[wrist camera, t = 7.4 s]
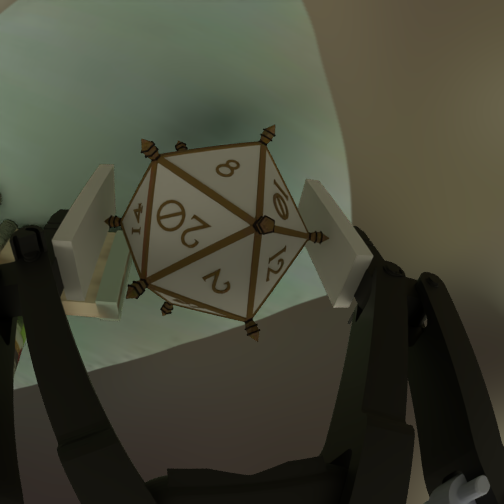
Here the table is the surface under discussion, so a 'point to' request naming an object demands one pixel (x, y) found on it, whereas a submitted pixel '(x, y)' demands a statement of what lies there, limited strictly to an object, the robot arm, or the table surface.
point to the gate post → (6, 232)
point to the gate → (98, 280)
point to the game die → (213, 228)
